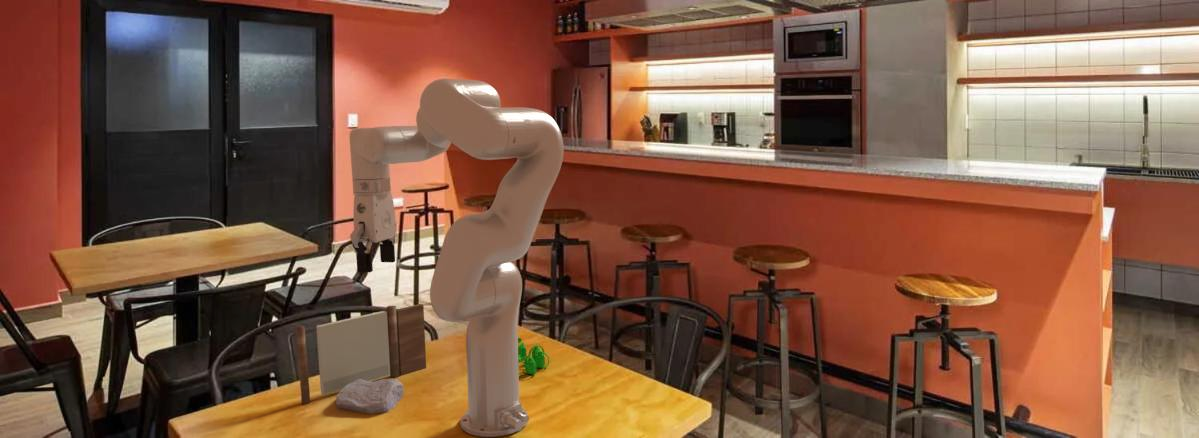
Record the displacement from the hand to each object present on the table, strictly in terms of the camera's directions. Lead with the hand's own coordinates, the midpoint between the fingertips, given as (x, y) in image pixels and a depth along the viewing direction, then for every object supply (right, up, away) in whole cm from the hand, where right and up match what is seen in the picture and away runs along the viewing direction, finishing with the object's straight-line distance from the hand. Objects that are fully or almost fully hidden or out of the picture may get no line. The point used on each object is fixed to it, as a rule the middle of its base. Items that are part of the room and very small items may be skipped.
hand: (376, 266), depth 147 cm
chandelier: (+29, -25, +12) cm, 40 cm away
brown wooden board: (-3, -26, +3) cm, 26 cm away
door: (-5, -25, +1) cm, 26 cm away
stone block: (+1, -28, -7) cm, 29 cm away
